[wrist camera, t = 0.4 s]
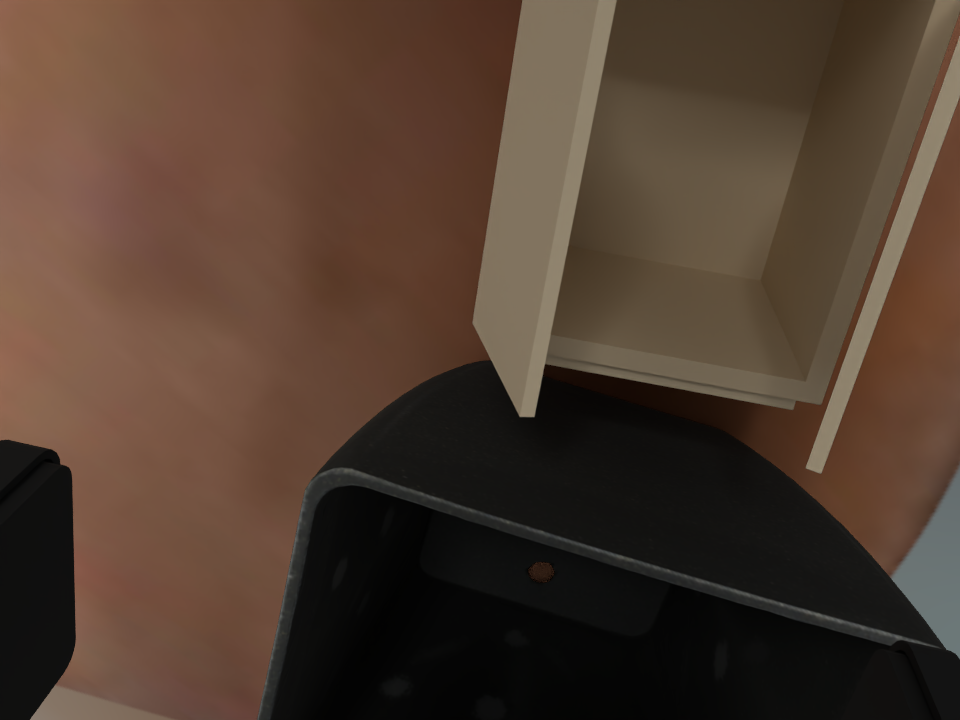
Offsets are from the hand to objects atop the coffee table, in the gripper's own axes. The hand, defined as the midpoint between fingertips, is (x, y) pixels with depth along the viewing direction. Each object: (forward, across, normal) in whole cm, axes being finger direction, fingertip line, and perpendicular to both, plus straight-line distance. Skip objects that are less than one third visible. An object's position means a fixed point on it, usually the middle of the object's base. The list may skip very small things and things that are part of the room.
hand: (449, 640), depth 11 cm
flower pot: (+29, -4, +17) cm, 34 cm away
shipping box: (+29, -4, -2) cm, 29 cm away
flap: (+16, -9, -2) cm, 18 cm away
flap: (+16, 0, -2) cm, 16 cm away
